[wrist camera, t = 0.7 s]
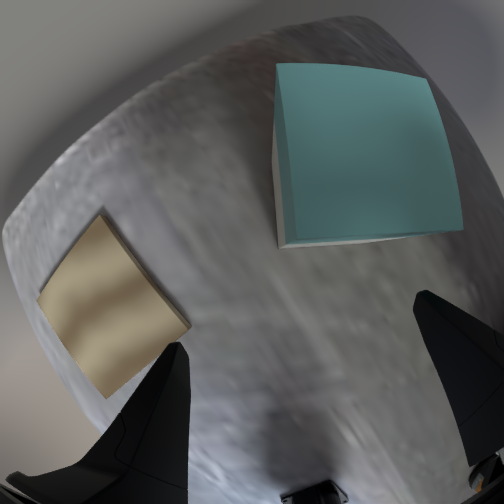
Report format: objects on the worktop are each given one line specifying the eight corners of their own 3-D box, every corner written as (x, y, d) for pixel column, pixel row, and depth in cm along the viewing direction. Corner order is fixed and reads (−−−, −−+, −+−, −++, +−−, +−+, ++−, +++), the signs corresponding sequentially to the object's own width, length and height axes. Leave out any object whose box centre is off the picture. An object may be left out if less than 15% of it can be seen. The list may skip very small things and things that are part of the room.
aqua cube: (397, 238, 15) (463, 229, 8) (283, 245, 15) (296, 238, 9) (380, 130, 15) (426, 79, 9) (273, 128, 15) (276, 63, 9)
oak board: (191, 326, 22) (188, 329, 21) (110, 395, 22) (106, 399, 22) (105, 216, 23) (99, 214, 22) (42, 299, 23) (36, 300, 22)
